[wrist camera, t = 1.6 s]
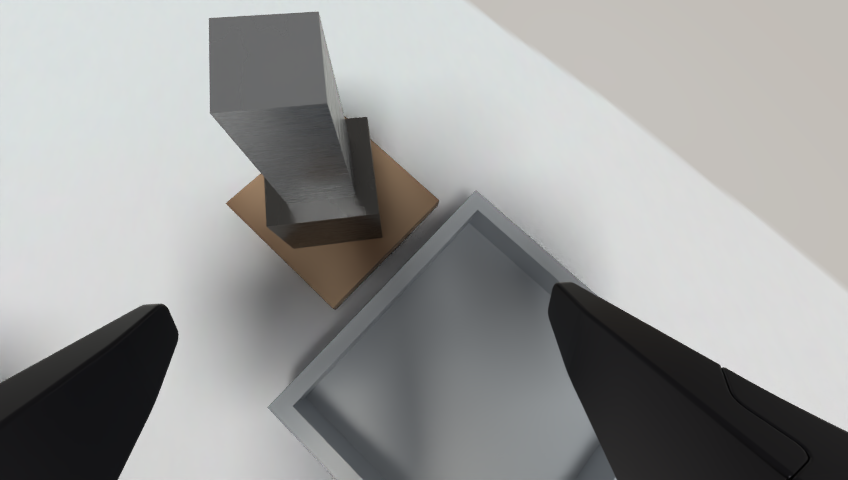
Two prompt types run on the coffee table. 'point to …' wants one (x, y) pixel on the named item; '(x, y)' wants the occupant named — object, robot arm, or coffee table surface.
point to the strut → (294, 127)
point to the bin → (450, 369)
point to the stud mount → (351, 261)
